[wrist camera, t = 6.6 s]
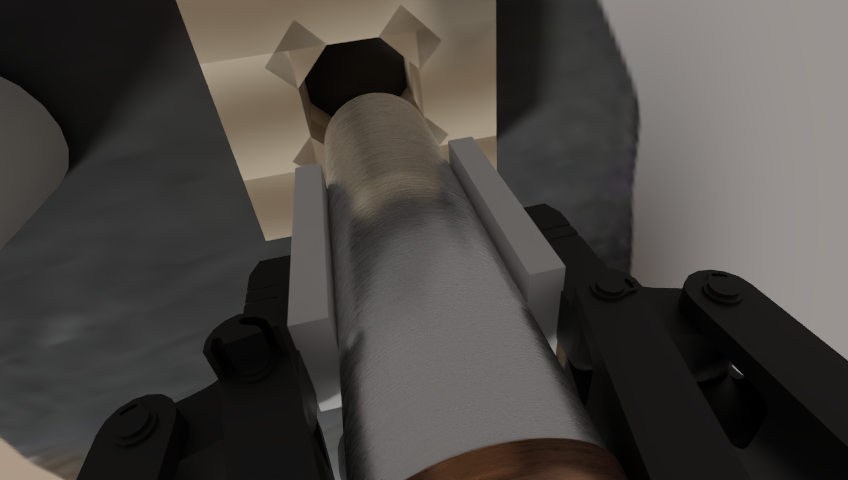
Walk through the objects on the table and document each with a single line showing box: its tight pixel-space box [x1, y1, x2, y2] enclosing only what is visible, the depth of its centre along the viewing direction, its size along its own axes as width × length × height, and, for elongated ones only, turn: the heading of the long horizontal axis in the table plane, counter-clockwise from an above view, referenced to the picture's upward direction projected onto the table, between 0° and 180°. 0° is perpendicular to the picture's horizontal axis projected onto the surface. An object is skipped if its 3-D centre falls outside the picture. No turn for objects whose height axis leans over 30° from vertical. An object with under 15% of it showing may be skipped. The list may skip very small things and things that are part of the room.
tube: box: [324, 93, 629, 480], centre depth 11 cm, size 4×4×16 cm
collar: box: [176, 0, 497, 241], centre depth 24 cm, size 13×13×5 cm
